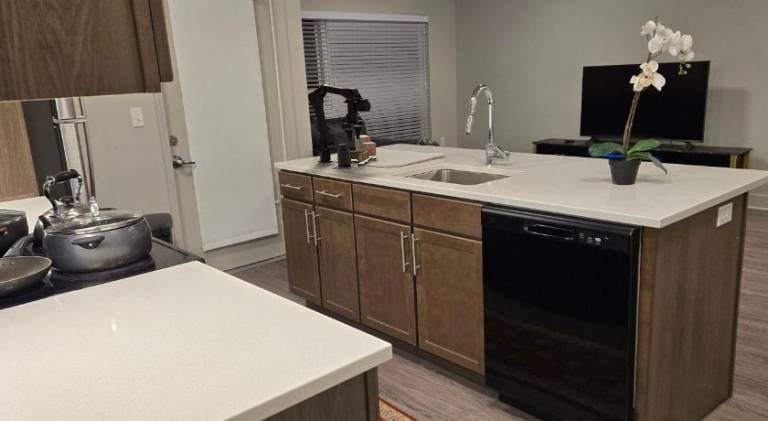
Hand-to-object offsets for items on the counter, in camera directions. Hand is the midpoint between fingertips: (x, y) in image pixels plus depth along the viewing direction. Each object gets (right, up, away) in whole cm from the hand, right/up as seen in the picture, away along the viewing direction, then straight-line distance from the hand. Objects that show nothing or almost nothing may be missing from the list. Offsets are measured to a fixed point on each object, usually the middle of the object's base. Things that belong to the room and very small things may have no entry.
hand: (354, 140), depth 315 cm
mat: (-4, -15, -9) cm, 18 cm away
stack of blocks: (+6, -7, +24) cm, 25 cm away
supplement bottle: (-5, -15, -9) cm, 18 cm away
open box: (0, -13, +2) cm, 13 cm away
